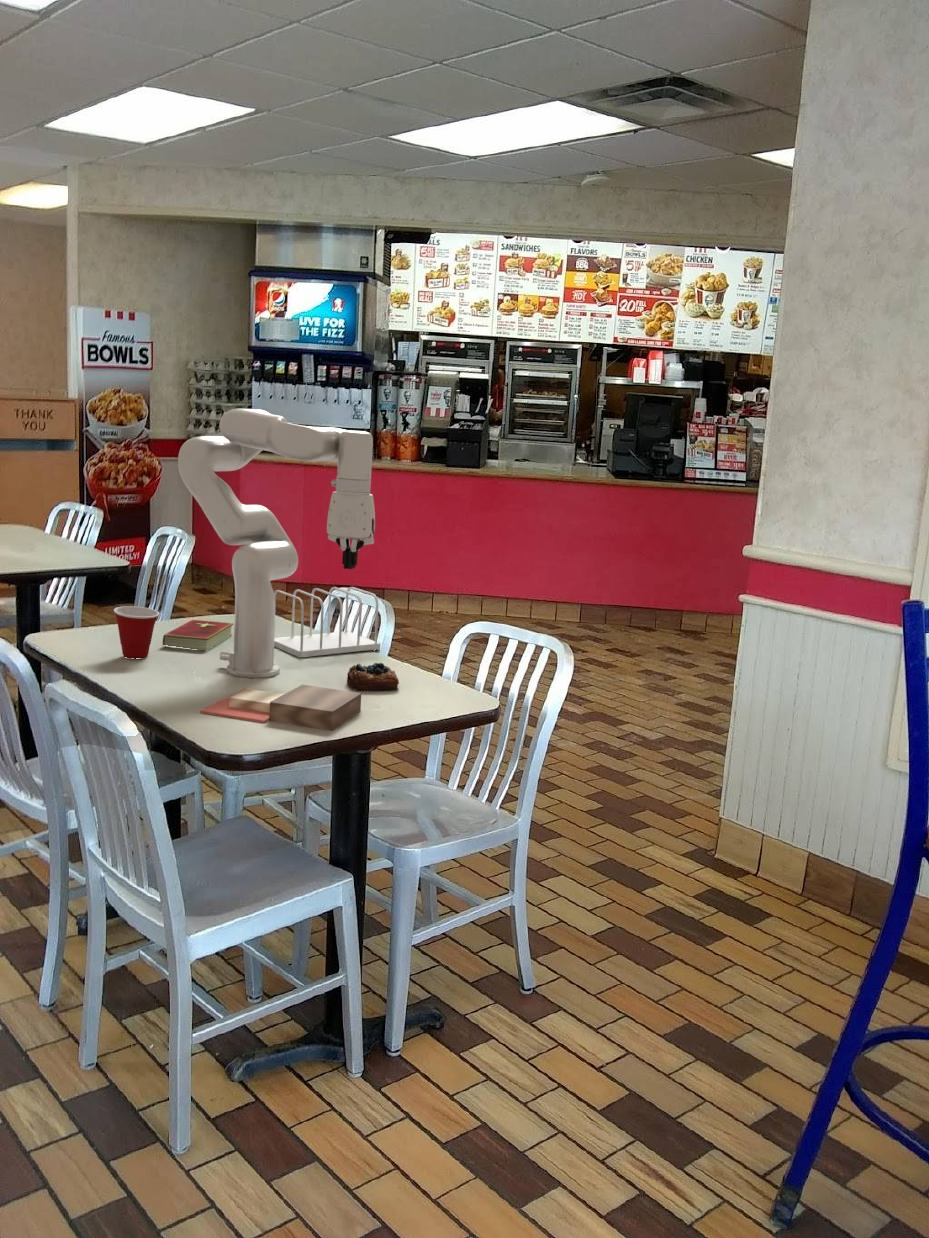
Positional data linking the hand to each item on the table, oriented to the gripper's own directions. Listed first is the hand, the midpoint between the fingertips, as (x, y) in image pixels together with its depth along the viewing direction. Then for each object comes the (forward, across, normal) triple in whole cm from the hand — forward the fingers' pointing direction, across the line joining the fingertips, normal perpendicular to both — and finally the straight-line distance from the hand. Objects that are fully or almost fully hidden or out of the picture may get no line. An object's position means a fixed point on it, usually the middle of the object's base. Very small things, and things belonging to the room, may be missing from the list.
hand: (349, 568), depth 241 cm
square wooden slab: (+29, +2, -20) cm, 35 cm away
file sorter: (+30, -22, +40) cm, 54 cm away
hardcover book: (+30, -53, +28) cm, 67 cm away
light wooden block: (+29, -11, -20) cm, 37 cm away
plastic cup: (+29, -57, +4) cm, 64 cm away
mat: (+29, -12, -20) cm, 37 cm away
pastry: (+30, +4, +9) cm, 31 cm away
